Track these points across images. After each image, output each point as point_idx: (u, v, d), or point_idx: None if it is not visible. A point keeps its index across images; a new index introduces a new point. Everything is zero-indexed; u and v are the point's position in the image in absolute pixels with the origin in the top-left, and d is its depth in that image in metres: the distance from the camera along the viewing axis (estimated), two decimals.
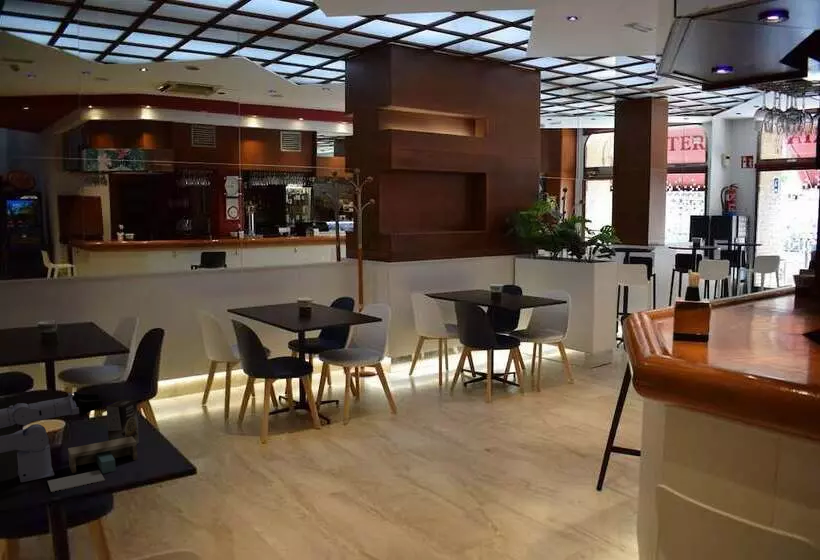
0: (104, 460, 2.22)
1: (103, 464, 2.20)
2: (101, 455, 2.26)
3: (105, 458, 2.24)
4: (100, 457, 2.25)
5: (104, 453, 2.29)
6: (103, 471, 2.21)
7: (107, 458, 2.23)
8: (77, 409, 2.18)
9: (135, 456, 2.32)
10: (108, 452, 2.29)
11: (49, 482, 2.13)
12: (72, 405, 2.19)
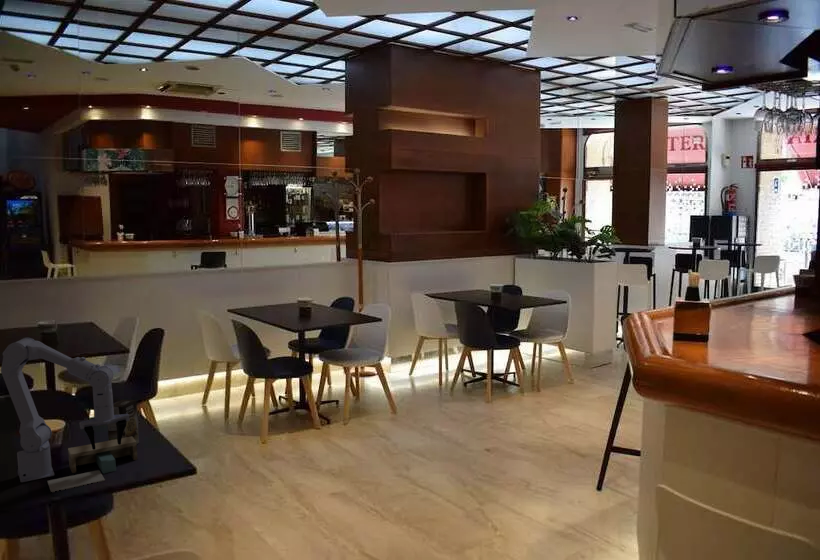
0: (104, 459, 2.22)
1: (103, 464, 2.20)
2: (101, 455, 2.26)
3: (105, 458, 2.24)
4: (100, 457, 2.25)
5: (104, 453, 2.29)
6: (103, 471, 2.21)
7: (107, 458, 2.23)
8: (80, 427, 2.17)
9: (135, 456, 2.32)
10: (108, 452, 2.29)
11: (49, 482, 2.13)
12: (88, 423, 2.18)
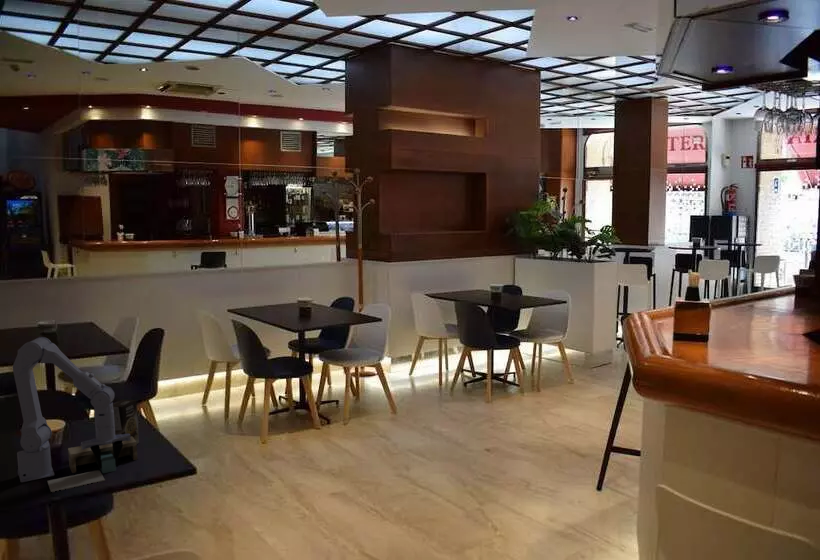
0: (104, 459, 2.22)
1: (103, 463, 2.20)
2: (101, 454, 2.26)
3: (105, 457, 2.24)
4: None
5: (104, 452, 2.29)
6: (103, 470, 2.21)
7: (107, 457, 2.23)
8: (82, 447, 2.18)
9: (135, 456, 2.32)
10: (108, 451, 2.29)
11: (49, 482, 2.13)
12: (89, 444, 2.18)
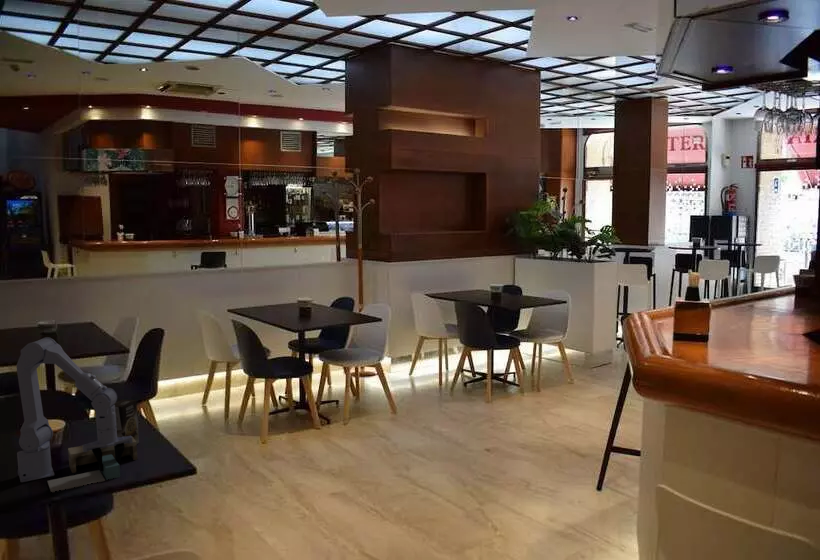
0: (108, 465, 2.17)
1: (107, 470, 2.15)
2: (104, 461, 2.21)
3: (108, 463, 2.18)
4: (104, 462, 2.19)
5: (107, 458, 2.23)
6: (107, 477, 2.15)
7: (111, 464, 2.18)
8: None
9: (135, 456, 2.32)
10: (111, 457, 2.24)
11: (49, 482, 2.13)
12: (91, 446, 2.16)
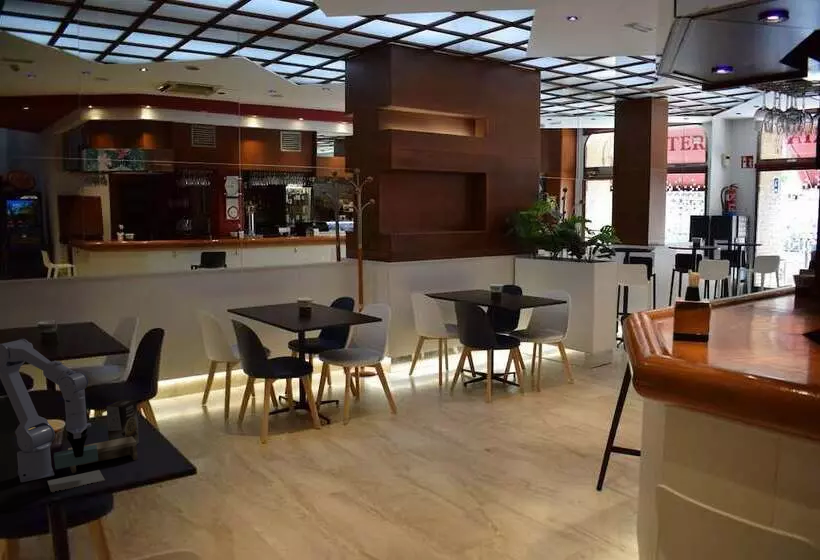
0: (90, 448, 2.15)
1: (96, 450, 2.15)
2: (72, 452, 2.13)
3: (85, 449, 2.15)
4: None
5: (65, 452, 2.13)
6: (97, 457, 2.15)
7: (87, 448, 2.15)
8: (78, 436, 2.07)
9: (135, 456, 2.32)
10: (66, 450, 2.14)
11: (49, 482, 2.13)
12: (82, 430, 2.10)
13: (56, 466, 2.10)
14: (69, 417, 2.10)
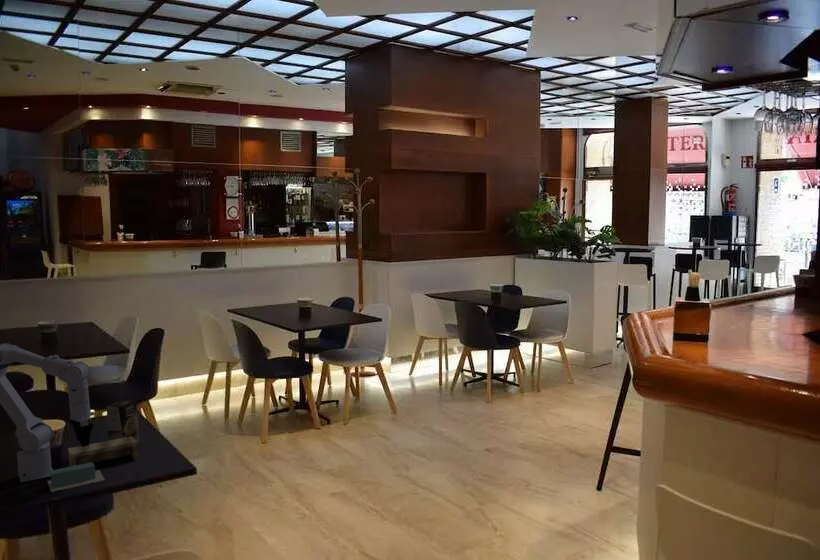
0: (88, 466, 2.15)
1: (94, 467, 2.16)
2: (70, 469, 2.12)
3: (82, 466, 2.15)
4: (76, 469, 2.13)
5: (62, 470, 2.12)
6: None
7: (84, 465, 2.15)
8: (85, 424, 2.12)
9: (135, 456, 2.32)
10: (62, 468, 2.13)
11: (49, 482, 2.13)
12: (87, 418, 2.15)
13: (53, 484, 2.09)
14: (74, 406, 2.15)
